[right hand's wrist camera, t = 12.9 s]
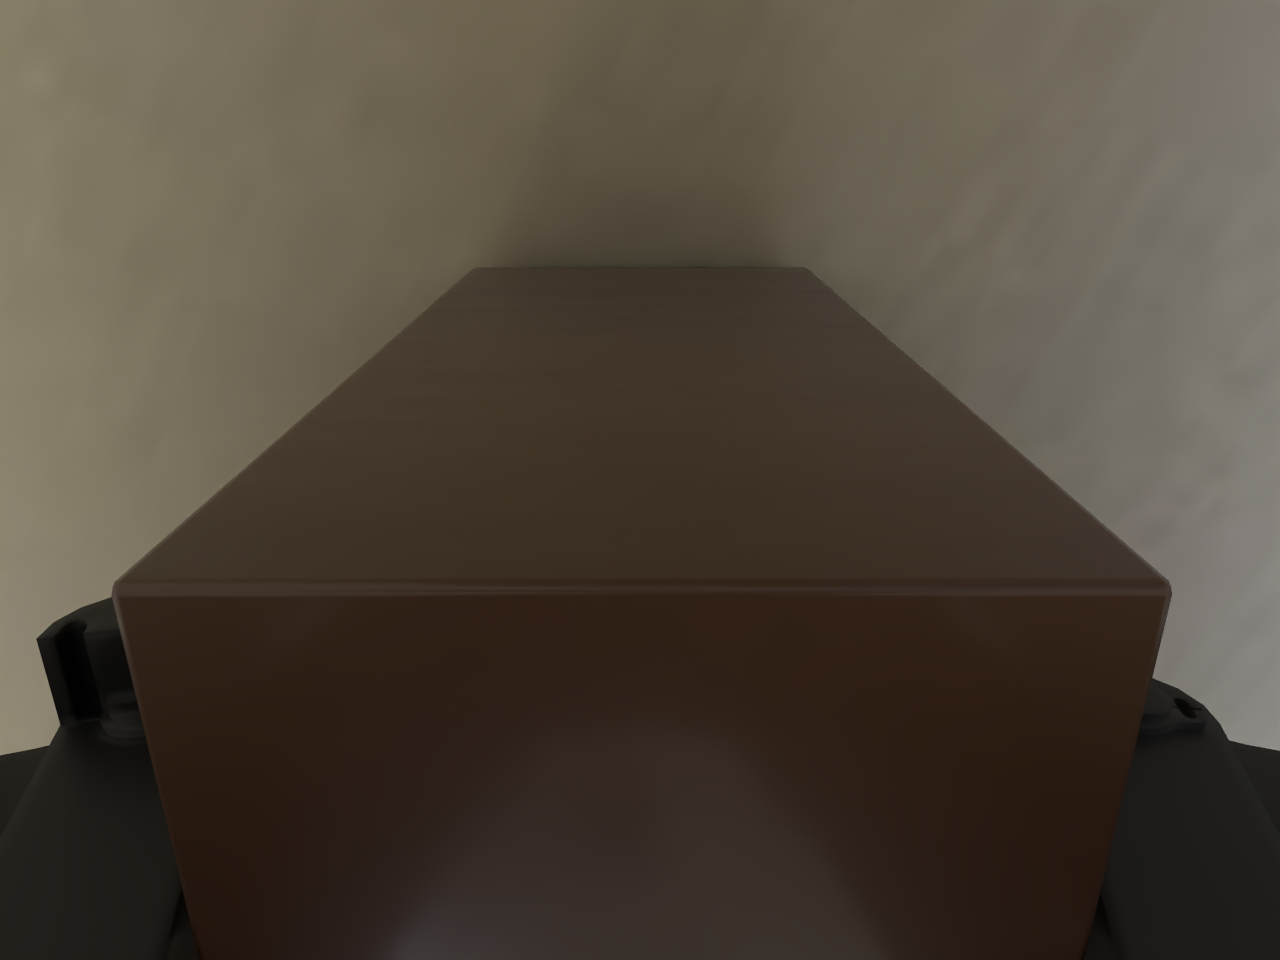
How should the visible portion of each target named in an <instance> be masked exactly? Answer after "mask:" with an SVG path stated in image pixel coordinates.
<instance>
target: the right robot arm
mask: <svg viewBox="0 0 1280 960" xmlns="http://www.w3.org/2000/svg"><path fill="white" fill-rule="evenodd" d="M37 643H38V646H39V650H40V654H41V657H42V661H43V664H44V668H45V671H46V675H47V678H48V682H49V686H50V689H51V693H52V696H53V700H54V703H55V707H56V710H57V714H58V718H59V721H60V727H59V729H58V731H57V732H56V734H55V736H54V738H53V740H52V742H51V744H50V745H49V746H45V747H41V748H37V749H32V750H26V751H21V752H16V753H11V754H5V755H0V960H199V956H198V952H197V948H196V944H195V940H194V935H193V931H192V927H191V923H190V919H189V915H188V911H187V906H186V902H185V898H184V894H183V890H182V886H181V881H180V877H179V873H178V869H177V865H176V861H175V857H174V852H173V848H172V844H171V840H170V836H169V832H168V828H167V823H166V819H165V815H164V811H163V807H162V803H161V799H160V794H159V790H158V786H157V782H156V778H155V774H154V769H153V765H152V761H151V757H150V753H149V749H148V745H147V740H146V736H145V732H144V728H143V724H142V720H141V716H140V711H139V707H138V703H137V699H136V695H135V691H134V687H133V682H132V678H131V674H130V670H129V666H128V662H127V657H126V653H125V649H124V645H123V641H122V637H121V633H120V628H119V624H118V620H117V616H116V612H115V608H114V604H113V599H112V597H111V598H108V599H105V600H102V601H99V602H96V603H93V604H90V605H87V606H84V607H82V608H79V609H78V610H76V611H74V612H72V613H70V614H68V615H67V616H65V617H63V618H61V619H59V620H57V621H55V622H54V623H53V624H52V625H51V626H49V627H48V628H47V629H46V630H45V631H44V632H43V633H42V634H41V635H40V636H39V637H38V638H37ZM1084 960H1280V751H1277V750H1271V749H1266V748H1261V747H1256V746H1250V745H1245V744H1241V743H1237V742H1233V741H1229V740H1228V738H1227V736H1226V734H1225V733H1224V731H1223V729H1222V727H1221V725H1220V724H1219V722H1218V721H1217V720H1216V719H1215V718H1214V717H1213V715H1212V714H1211V713H1210V712H1209V711H1208V710H1207V709H1206V707H1205V706H1204V705H1202V704H1201V703H1199V702H1198V701H1196V700H1195V699H1193V698H1192V697H1190V696H1189V695H1187V694H1185V693H1184V692H1182V691H1181V690H1179V689H1177V688H1175V687H1172V686H1170V685H1167V684H1165V683H1162V682H1160V681H1158V680H1155V679H1153V678H1152V680H1151V684H1150V688H1149V692H1148V696H1147V700H1146V705H1145V709H1144V713H1143V717H1142V721H1141V725H1140V729H1139V734H1138V738H1137V742H1136V746H1135V750H1134V754H1133V759H1132V763H1131V767H1130V771H1129V775H1128V779H1127V783H1126V788H1125V792H1124V796H1123V800H1122V804H1121V808H1120V813H1119V817H1118V821H1117V825H1116V829H1115V833H1114V837H1113V842H1112V846H1111V850H1110V854H1109V858H1108V862H1107V867H1106V871H1105V875H1104V879H1103V883H1102V887H1101V891H1100V896H1099V900H1098V904H1097V908H1096V912H1095V916H1094V921H1093V925H1092V929H1091V933H1090V937H1089V941H1088V945H1087V950H1086V954H1085V958H1084Z"/></svg>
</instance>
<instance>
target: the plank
mask: <svg viewBox="0 0 1280 960" xmlns="http://www.w3.org/2000/svg"><path fill="white" fill-rule="evenodd" d="M1171 597H1172V592H1171V586H1170V583H1169V581H1168V580H1167V579H1166V578H1165V577H1164V576H1162V575H1161V574H1160V573H1159V572H1158V571H1157V570H1155V569H1154V568H1153V567H1152V566H1151V565H1150V564H1149V563H1147V562H1146V561H1145V560H1144V559H1143V558H1142V557H1140V556H1139V555H1138V554H1137V553H1136V552H1135V551H1133V550H1132V549H1131V548H1130V547H1129V546H1128V545H1127V544H1125V543H1124V542H1123V541H1122V540H1121V539H1120V538H1118V537H1117V536H1116V535H1115V534H1114V533H1113V532H1111V531H1110V530H1109V529H1108V528H1107V527H1106V526H1105V525H1103V524H1102V523H1101V522H1100V521H1099V520H1098V519H1096V518H1095V517H1094V516H1093V515H1092V514H1091V513H1089V512H1088V511H1087V510H1086V509H1085V508H1084V507H1083V506H1081V505H1080V504H1079V503H1078V502H1077V501H1076V500H1074V499H1073V498H1072V497H1071V496H1070V495H1069V494H1067V493H1066V492H1065V491H1064V490H1063V489H1062V488H1061V487H1059V486H1058V485H1057V484H1056V483H1055V482H1054V481H1052V480H1051V479H1050V478H1049V477H1048V476H1047V475H1045V474H1044V473H1043V472H1042V471H1041V470H1040V469H1039V468H1037V467H1036V466H1035V465H1034V464H1033V463H1032V462H1030V461H1029V460H1028V459H1027V458H1026V457H1025V456H1023V455H1022V454H1021V453H1020V452H1019V451H1018V450H1017V449H1015V448H1014V447H1013V446H1012V445H1011V444H1010V443H1008V442H1007V441H1006V440H1005V439H1004V438H1003V437H1001V436H1000V435H999V434H998V433H997V432H996V431H995V430H993V429H992V428H991V427H990V426H989V425H988V424H986V423H985V422H984V421H983V420H982V419H981V418H979V417H978V416H977V415H976V414H975V413H974V412H973V411H971V410H970V409H969V408H968V407H967V406H966V405H964V404H963V403H962V402H961V401H960V400H959V399H957V398H956V397H955V396H954V395H953V394H952V393H951V392H949V391H948V390H947V389H946V388H945V387H944V386H942V385H941V384H940V383H939V382H938V381H937V380H935V379H934V378H933V377H932V376H931V375H930V374H929V373H927V372H926V371H925V370H924V369H923V368H922V367H920V366H919V365H918V364H917V363H916V362H915V361H913V360H912V359H911V358H910V357H909V356H908V355H907V354H905V353H904V352H903V351H902V350H901V349H900V348H898V347H897V346H896V345H895V344H894V343H893V342H891V341H890V340H889V339H888V338H887V337H886V336H885V335H883V334H882V333H881V332H880V331H879V330H878V329H876V328H875V327H874V326H873V325H872V324H871V323H869V322H868V321H867V320H866V319H865V318H864V317H863V316H861V315H860V314H859V313H858V312H857V311H856V310H854V309H853V308H852V307H851V306H850V305H849V304H847V303H846V302H845V301H844V300H843V299H842V298H841V297H839V296H838V295H837V294H836V293H835V292H834V291H832V290H831V289H830V288H829V287H828V286H827V285H825V284H824V283H823V282H822V281H821V280H820V279H819V278H817V277H816V276H815V275H814V274H813V273H812V272H810V271H809V270H808V269H806V268H475V269H473V270H471V271H470V272H469V273H468V274H467V275H466V276H465V277H463V278H462V279H461V280H460V281H459V282H458V283H457V284H455V285H454V286H453V287H452V288H451V289H450V290H448V291H447V292H446V293H445V294H444V295H443V296H442V297H440V298H439V299H438V300H437V301H436V302H435V303H434V304H432V305H431V306H430V307H429V308H428V309H427V310H426V311H424V312H423V313H422V314H421V315H420V316H419V317H418V318H416V319H415V320H414V321H413V322H412V323H411V324H410V325H408V326H407V327H406V328H405V329H404V330H403V331H402V332H400V333H399V334H398V335H397V336H396V337H395V338H394V339H392V340H391V341H390V342H389V343H388V344H387V345H386V346H384V347H383V348H382V349H381V350H380V351H379V352H378V353H376V354H375V355H374V356H373V357H372V358H371V359H370V360H368V361H367V362H366V363H365V364H364V365H363V366H362V367H360V368H359V369H358V370H357V371H356V372H355V373H353V374H352V375H351V376H350V377H349V378H348V379H347V380H345V381H344V382H343V383H342V384H341V385H340V386H339V387H337V388H336V389H335V390H334V391H333V392H332V393H331V394H329V395H328V396H327V397H326V398H325V399H324V400H323V401H321V402H320V403H319V404H318V405H317V406H316V407H315V408H313V409H312V410H311V411H310V412H309V413H308V414H307V415H305V416H304V417H303V418H302V419H301V420H300V421H299V422H297V423H296V424H295V425H294V426H293V427H292V428H291V429H289V430H288V431H287V432H286V433H285V434H284V435H283V436H281V437H280V438H279V439H278V440H277V441H276V442H275V443H273V444H272V445H271V446H270V447H269V448H268V449H266V450H265V451H264V452H263V453H262V454H261V455H260V456H258V457H257V458H256V459H255V460H254V461H253V462H252V463H250V464H249V465H248V466H247V467H246V468H245V469H244V470H242V471H241V472H240V473H239V474H238V475H237V476H236V477H234V478H233V479H232V480H231V481H230V482H229V483H228V484H226V485H225V486H224V487H223V488H222V489H221V490H220V491H218V492H217V493H216V494H215V495H214V496H213V497H212V498H210V499H209V500H208V501H207V502H206V503H205V504H204V505H202V506H201V507H200V508H199V509H198V510H197V511H196V512H194V513H193V514H192V515H191V516H190V517H189V518H188V519H186V520H185V521H184V522H183V523H182V524H181V525H180V526H178V527H177V528H176V529H175V530H174V531H173V532H171V533H170V534H169V535H168V536H167V537H166V538H165V539H163V540H162V541H161V542H160V543H159V544H158V545H157V546H155V547H154V548H153V549H152V550H151V551H150V552H149V553H147V554H146V555H145V556H144V557H143V558H142V559H141V560H139V561H138V562H137V563H136V564H135V565H134V566H133V567H131V568H130V569H129V570H128V571H127V572H126V573H125V574H123V575H122V576H121V577H120V578H119V579H118V580H117V581H115V583H114V586H113V590H112V599H113V604H114V608H115V612H116V616H117V620H118V624H119V628H120V633H121V637H122V641H123V645H124V649H125V653H126V657H127V662H128V666H129V670H130V674H131V678H132V682H133V687H134V691H135V695H136V699H137V703H138V707H139V711H140V716H141V720H142V724H143V728H144V732H145V736H146V740H147V745H148V749H149V753H150V757H151V761H152V765H153V769H154V774H155V778H156V782H157V786H158V790H159V794H160V799H161V803H162V807H163V811H164V815H165V819H166V823H167V828H168V832H169V836H170V840H171V844H172V848H173V852H174V857H175V861H176V865H177V869H178V873H179V877H180V881H181V886H182V890H183V894H184V898H185V902H186V906H187V911H188V915H189V919H190V923H191V927H192V931H193V935H194V940H195V944H196V948H197V952H198V956H199V960H1084V958H1085V954H1086V950H1087V945H1088V941H1089V937H1090V933H1091V929H1092V925H1093V921H1094V916H1095V912H1096V908H1097V904H1098V900H1099V896H1100V891H1101V887H1102V883H1103V879H1104V875H1105V871H1106V867H1107V862H1108V858H1109V854H1110V850H1111V846H1112V842H1113V837H1114V833H1115V829H1116V825H1117V821H1118V817H1119V813H1120V808H1121V804H1122V800H1123V796H1124V792H1125V788H1126V783H1127V779H1128V775H1129V771H1130V767H1131V763H1132V759H1133V754H1134V750H1135V746H1136V742H1137V738H1138V734H1139V729H1140V725H1141V721H1142V717H1143V713H1144V709H1145V705H1146V700H1147V696H1148V692H1149V688H1150V684H1151V680H1152V675H1153V671H1154V667H1155V663H1156V659H1157V655H1158V651H1159V646H1160V642H1161V638H1162V634H1163V630H1164V626H1165V622H1166V617H1167V613H1168V609H1169V605H1170V601H1171Z"/></svg>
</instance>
